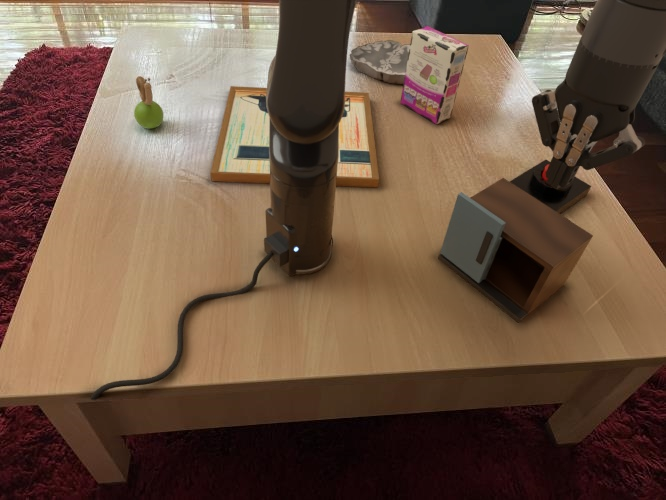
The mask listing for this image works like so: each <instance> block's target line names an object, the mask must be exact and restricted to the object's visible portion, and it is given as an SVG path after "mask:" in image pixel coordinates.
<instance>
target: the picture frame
mask: <svg viewBox="0 0 666 500" xmlns="http://www.w3.org/2000/svg"><path fill="white" fill-rule="evenodd" d="M229 87H230V88H229V91H228V96H227V99H226V103H225V104H226V105H225V108H224V113H223V116H222V121H221V126H220V130H219V134H218V138H217V142H216V146H215V151H214V156H213V160H212V164H211V168H210V172H209V173H210V180H211V182H225V183H228V182H229V183H250V184H251V183H253V184H270V163H269V115H268V111H267V107H266V93H267V87H256V86H235V85H230V86H229ZM371 108H372V107H371V99H370V93H369V92H360V91H345V109H344V113H343V116H342V118H341V121H340V123H339V157H338V168H337V180H336V187H356V188H358V187H359V188H379V184H380V176H379V175H380V174H379V166H378V158H377V151H376V141H375V134H374V124H373V116H372V109H371Z"/></svg>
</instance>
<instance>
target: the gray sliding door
mask: <svg viewBox="0 0 666 500" xmlns="http://www.w3.org/2000/svg"><path fill="white" fill-rule="evenodd" d="M505 224H506V223H505V222H504V221H503V220H501V219H500V218H498V217H497V216H495V215H494V214H493V213H491V212H490V211H488V210H487V209H485V208H484V207H482V206H481V205H480V204H478V203H477V202H475V201H474V200H472V199H471V198H470V197H469V196H468V195H467V194H466V193H464V192H462V191H460V192H459V193H458V194H457V196H456V199H455V203H454V206H453V209H452V213H451V215H450V219H449V222H448V225H447V229H446V232H445V235H444V238H443V242H442V245H441V248H440V253H439V254H442V255H443V256H445V257H446V258H447V259H449V260H450V261H451V262H452V263H454V264H455V265H456V266H457V267H459V268H460V269H461V270H462V271H464V272H465V273H466V274H467V275H469V276H470V277H471V278H473V279H474V280H475V281H476V282H478V283H480V282H481V281H482V279H483V277H484V274H485V272H486V270H487V267H488V265H489V262H490V260H491V257H492V255H493V253H494V250H495V248H496V245H497V243H498V241H499V238H500V236H501V233H502V231H503V228H504V226H505Z"/></svg>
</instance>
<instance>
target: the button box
mask: <svg viewBox="0 0 666 500" xmlns="http://www.w3.org/2000/svg"><path fill="white" fill-rule="evenodd" d="M550 162H551V160H548V159H544V160H542V161H540V162H539V163H538V164H536V165H534V166H533V167H531V168H529V169H528V170H526V171H525V172H523V173H521V174H519V175H518V176H516V177H514V178H513V179H511V180H509V182H511V183H512V184H514V185H515V186H517V187H518V188H520V189H522V190H523V191H525V192H526V193H528V194H529V195H531V196H532V197H534V198H536V199H537V200H539V201H540V202H542V203H543V204H545V205H546V206H548V207H550V208H551V209H553V210H554V211H556V212H557V213H559V214H560V215H562V213H564V212H565V211H567V210H568V209H569V208H570V207H572V206H573V205H575V204H576V203H578V202H579V201H580V200H582V199H583V198H585V197H586V196H587V195H588V194H589V192H590V190H591V188H592V185H591V184H588V183H587V182H585V181H584V180H582V179H580V178H578V176H575V177H574V179H573V181H572V182H570V183H569V184H568V185H566V186H565V187H560V188H559V189H555V188H554V187H552V186H551V185H549V184H547V183H546V182H547V181H546V180H544V179H543V178H542V173H543V171H544V169H545V167H546V166H547V165H548V164H550Z"/></svg>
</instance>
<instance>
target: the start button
mask: <svg viewBox="0 0 666 500" xmlns="http://www.w3.org/2000/svg"><path fill="white" fill-rule="evenodd" d="M548 166H549V164H548V165H547V166H546V167H545V169H544V171H543V173H542V178H543V179H544V180H546V181H547V179H548V178H546V171H547V169H548Z"/></svg>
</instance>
